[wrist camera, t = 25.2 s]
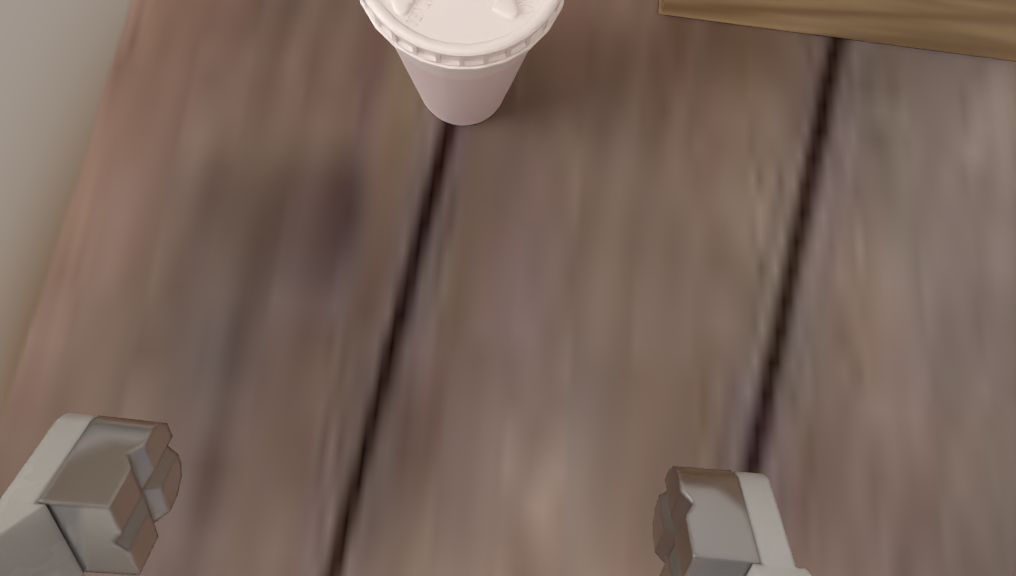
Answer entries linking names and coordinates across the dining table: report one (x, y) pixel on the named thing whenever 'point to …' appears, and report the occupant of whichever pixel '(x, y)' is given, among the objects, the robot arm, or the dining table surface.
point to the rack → (874, 21)
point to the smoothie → (462, 48)
